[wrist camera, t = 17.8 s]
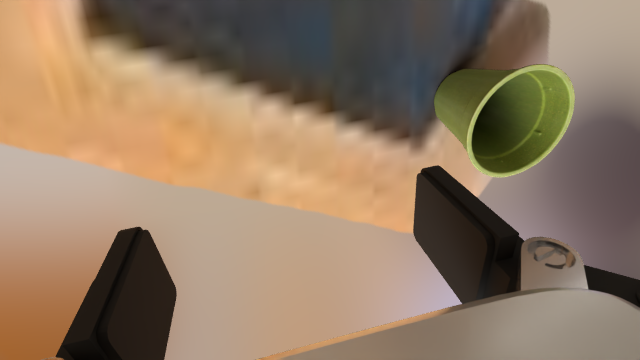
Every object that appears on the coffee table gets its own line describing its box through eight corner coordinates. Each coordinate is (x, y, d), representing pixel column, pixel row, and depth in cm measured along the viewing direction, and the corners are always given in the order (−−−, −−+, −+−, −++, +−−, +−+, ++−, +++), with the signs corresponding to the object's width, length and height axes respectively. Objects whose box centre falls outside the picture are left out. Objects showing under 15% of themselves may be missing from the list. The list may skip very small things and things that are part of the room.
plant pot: (511, 47, 41) (595, 64, 31) (484, 136, 47) (548, 173, 37) (425, 46, 38) (487, 64, 29) (408, 140, 44) (455, 181, 35)
